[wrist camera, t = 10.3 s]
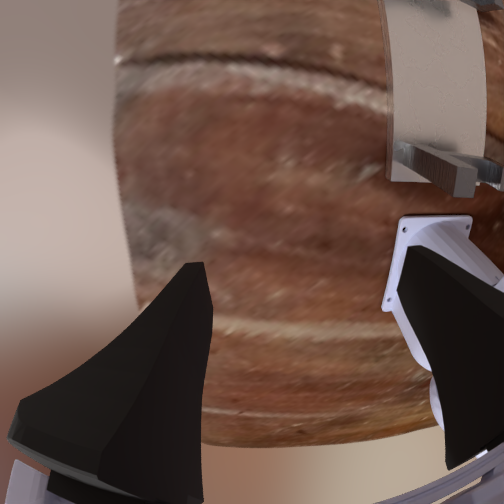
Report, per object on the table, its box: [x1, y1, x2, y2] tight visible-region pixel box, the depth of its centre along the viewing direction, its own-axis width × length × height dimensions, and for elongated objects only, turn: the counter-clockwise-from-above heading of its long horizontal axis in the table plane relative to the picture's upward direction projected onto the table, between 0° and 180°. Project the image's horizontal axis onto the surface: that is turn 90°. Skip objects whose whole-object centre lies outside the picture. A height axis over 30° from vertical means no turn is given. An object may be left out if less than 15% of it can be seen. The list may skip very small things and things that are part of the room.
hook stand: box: [377, 0, 504, 198], centre depth 10 cm, size 17×9×7 cm, turn 5°
